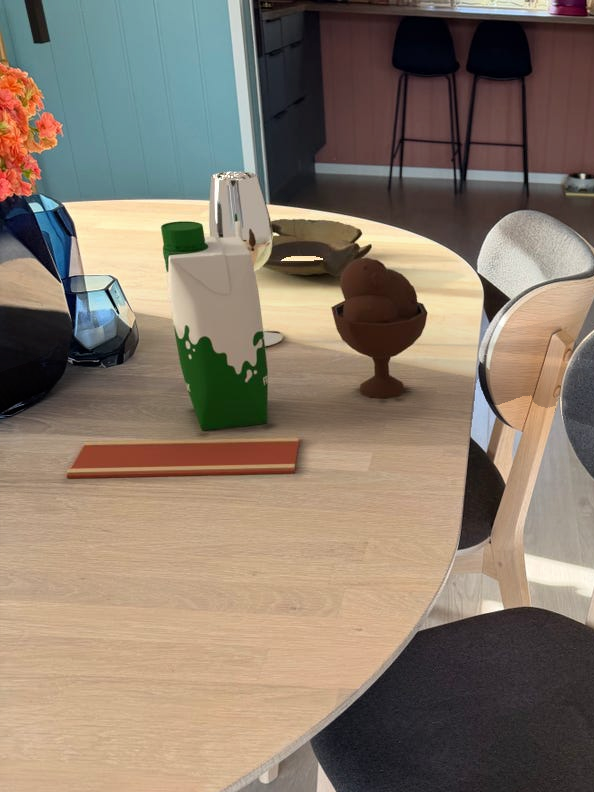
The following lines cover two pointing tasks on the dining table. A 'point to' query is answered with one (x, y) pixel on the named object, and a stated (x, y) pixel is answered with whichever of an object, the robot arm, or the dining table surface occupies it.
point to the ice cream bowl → (378, 320)
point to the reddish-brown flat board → (185, 457)
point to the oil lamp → (314, 246)
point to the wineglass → (243, 220)
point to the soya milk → (217, 325)
